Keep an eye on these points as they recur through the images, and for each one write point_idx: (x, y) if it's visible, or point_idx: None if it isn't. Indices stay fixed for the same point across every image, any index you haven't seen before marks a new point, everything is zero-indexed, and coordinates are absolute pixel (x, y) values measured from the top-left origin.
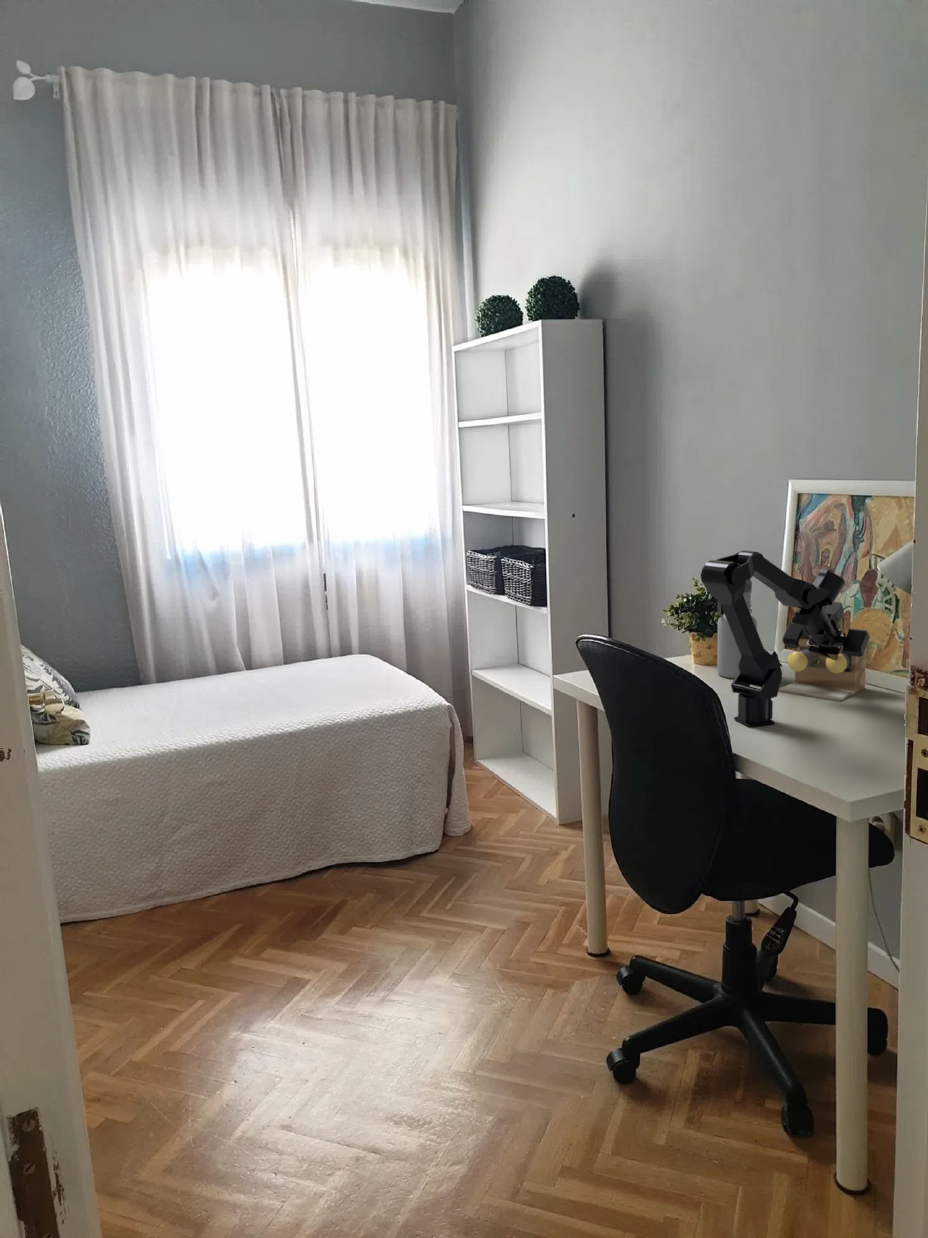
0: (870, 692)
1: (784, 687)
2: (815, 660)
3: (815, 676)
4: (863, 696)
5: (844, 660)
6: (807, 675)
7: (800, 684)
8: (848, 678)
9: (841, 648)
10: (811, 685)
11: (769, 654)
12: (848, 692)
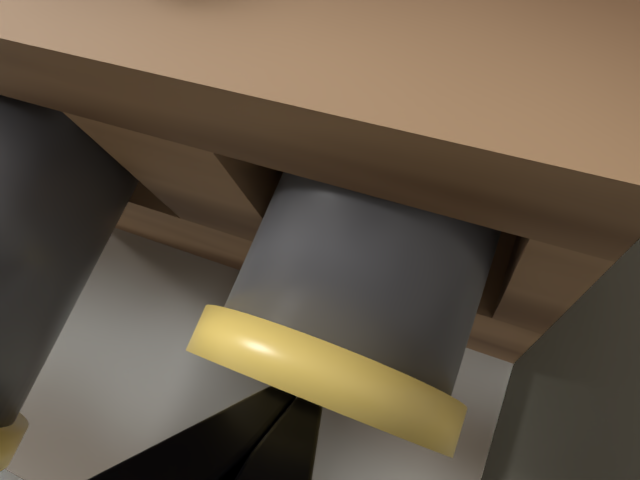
0: (623, 288)
1: None
2: (113, 210)
3: (194, 241)
4: (595, 433)
5: (435, 447)
6: (139, 224)
7: (126, 277)
8: None
9: (351, 168)
10: (195, 281)
11: None
12: (472, 422)
